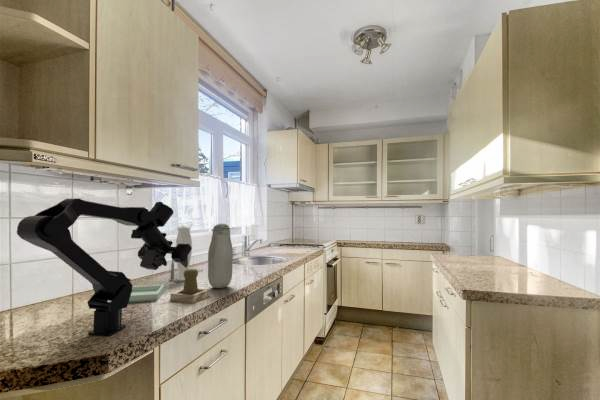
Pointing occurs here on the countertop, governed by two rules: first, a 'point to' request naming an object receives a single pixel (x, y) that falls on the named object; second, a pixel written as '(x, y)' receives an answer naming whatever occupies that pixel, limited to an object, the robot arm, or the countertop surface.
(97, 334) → the robot arm
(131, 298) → the sage green tray
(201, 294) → the wooden collar
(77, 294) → the countertop surface
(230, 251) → the grey bottle
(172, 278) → the skyscraper
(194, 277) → the cork
